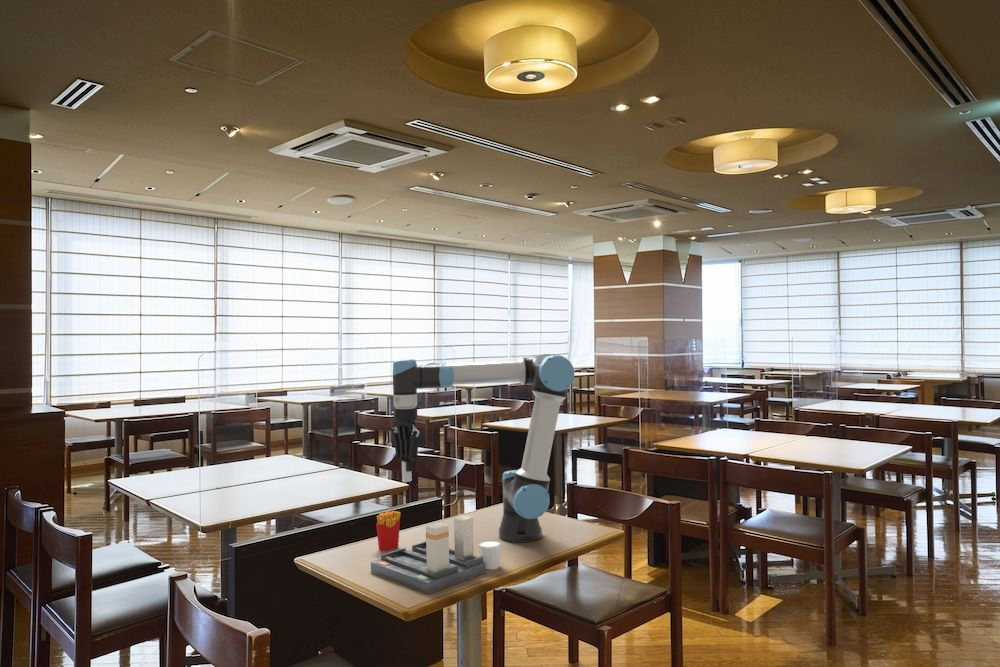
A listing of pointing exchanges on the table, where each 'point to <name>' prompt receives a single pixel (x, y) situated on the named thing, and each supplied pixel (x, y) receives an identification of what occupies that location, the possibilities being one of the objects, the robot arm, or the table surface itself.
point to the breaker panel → (414, 562)
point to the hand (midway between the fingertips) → (406, 481)
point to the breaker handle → (437, 547)
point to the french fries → (388, 530)
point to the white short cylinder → (490, 553)
